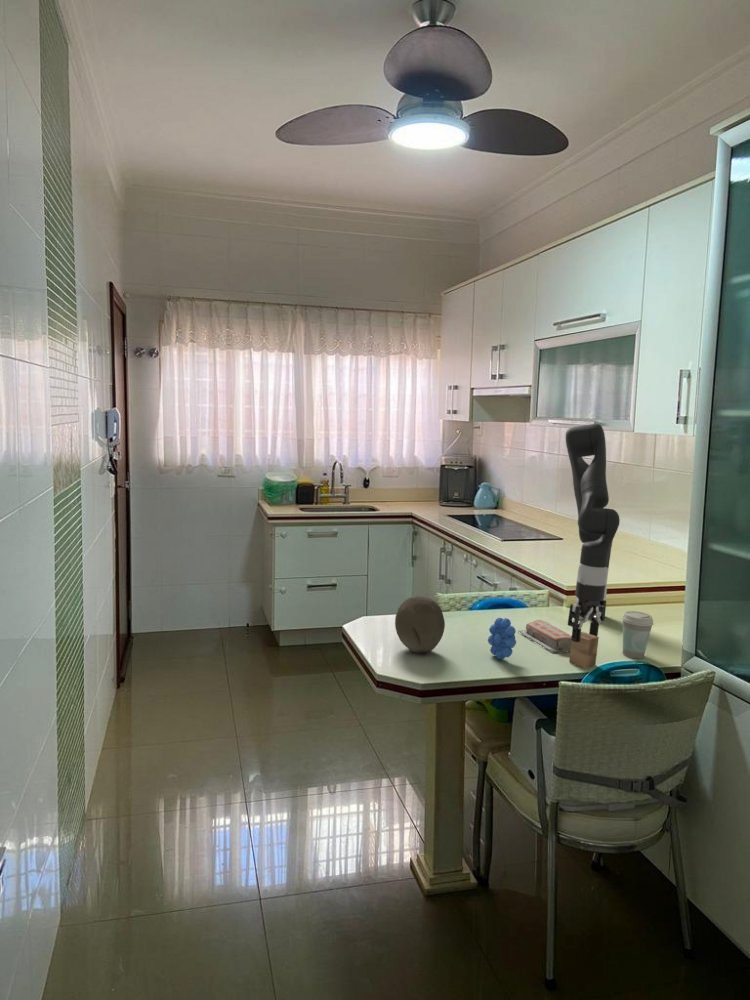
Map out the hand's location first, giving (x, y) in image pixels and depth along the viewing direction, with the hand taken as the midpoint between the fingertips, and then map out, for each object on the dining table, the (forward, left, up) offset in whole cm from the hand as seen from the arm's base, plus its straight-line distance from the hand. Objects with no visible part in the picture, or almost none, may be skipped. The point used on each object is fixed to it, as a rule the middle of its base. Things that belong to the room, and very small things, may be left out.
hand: (584, 638), depth 199 cm
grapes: (+17, -14, -7) cm, 23 cm away
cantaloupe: (+33, -31, -7) cm, 46 cm away
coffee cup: (-20, +4, -7) cm, 22 cm away
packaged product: (-8, -16, -8) cm, 20 cm away
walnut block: (0, 0, -7) cm, 7 cm away
